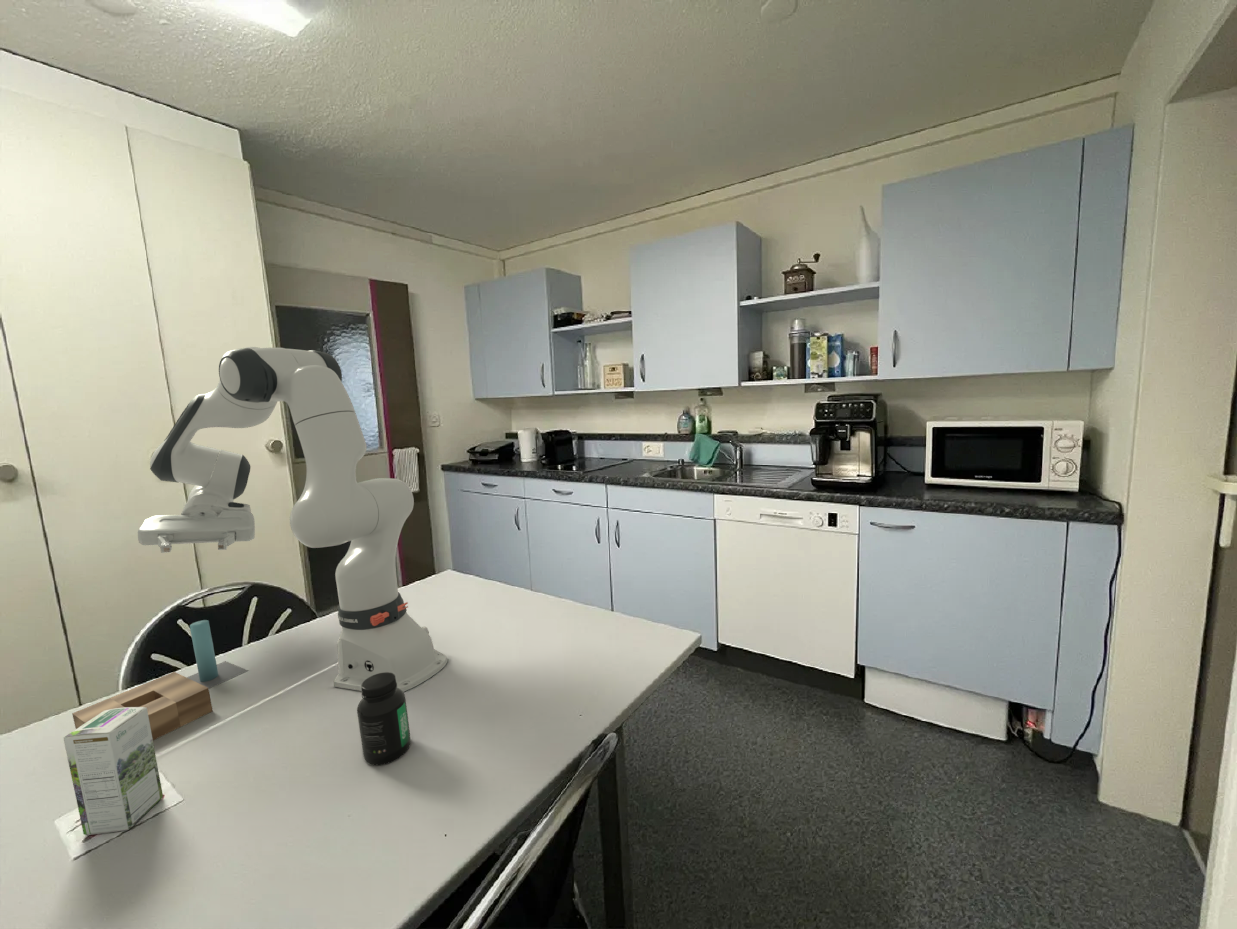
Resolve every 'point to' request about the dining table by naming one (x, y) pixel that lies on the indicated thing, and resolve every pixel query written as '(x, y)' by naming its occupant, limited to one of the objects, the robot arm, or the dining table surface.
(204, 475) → the robot arm
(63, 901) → the dining table surface
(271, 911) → the dining table surface
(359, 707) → the supplement bottle
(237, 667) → the mat
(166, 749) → the dining table surface
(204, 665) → the peg
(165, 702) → the hole block
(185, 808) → the dining table surface
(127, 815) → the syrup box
